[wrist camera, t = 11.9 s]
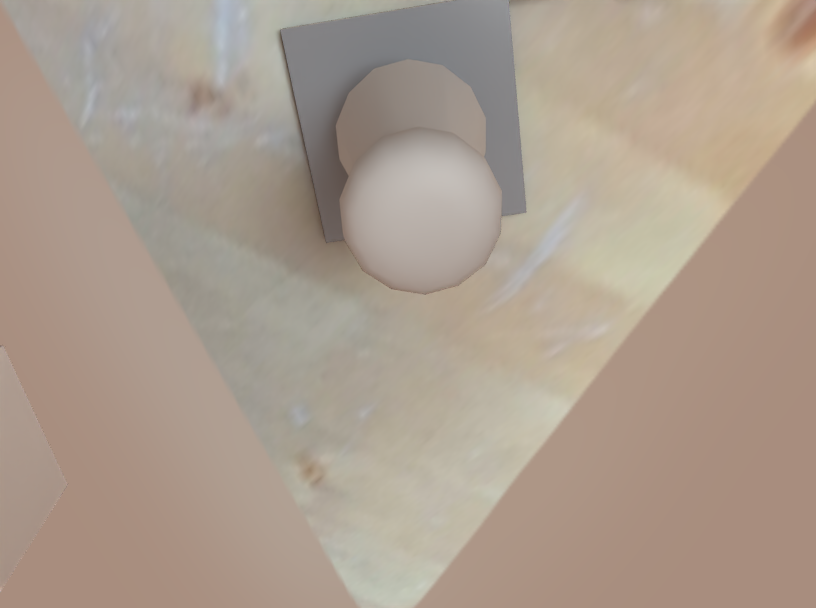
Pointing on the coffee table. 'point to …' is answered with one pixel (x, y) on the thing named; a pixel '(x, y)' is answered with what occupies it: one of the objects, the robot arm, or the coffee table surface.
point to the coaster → (392, 42)
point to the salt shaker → (417, 178)
